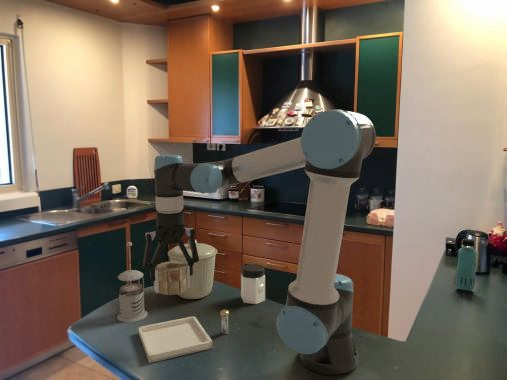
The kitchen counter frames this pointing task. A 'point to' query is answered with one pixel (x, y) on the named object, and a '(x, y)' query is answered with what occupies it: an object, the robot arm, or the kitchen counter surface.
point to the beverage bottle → (466, 266)
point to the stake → (224, 321)
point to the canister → (197, 269)
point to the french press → (131, 296)
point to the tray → (174, 339)
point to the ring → (172, 277)
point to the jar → (253, 284)
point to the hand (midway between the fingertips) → (172, 288)
